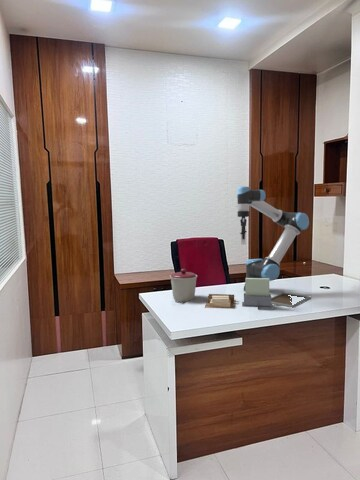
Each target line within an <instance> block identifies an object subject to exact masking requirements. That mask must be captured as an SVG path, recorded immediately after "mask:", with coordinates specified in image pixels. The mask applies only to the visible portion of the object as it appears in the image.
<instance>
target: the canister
mask: <svg viewBox="0 0 360 480" xmlns="http://www.w3.org/2000/svg"><path fill="white" fill-rule="evenodd" d="M169 278H170V283H171V290H172V296H173V299H174V301H175V302H176V303H177V302H178V303H187V302H188V301H193V300H194V299H195V297H196V295H195V294H196V287H197V286H196V285H197V278H198V275H197V274H196V273H194V272H192V271H187V269H186V268H182V269H180V271H178V272H174V273H172V274H170V275H169Z"/></svg>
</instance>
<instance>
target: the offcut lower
mask: <svg viewBox="0 0 360 480" xmlns="http://www.w3.org/2000/svg"><path fill="white" fill-rule="evenodd" d="M230 305H231V300H229V303H212V299H211V301H210V307H230Z"/></svg>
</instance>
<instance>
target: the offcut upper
mask: <svg viewBox="0 0 360 480" xmlns="http://www.w3.org/2000/svg"><path fill="white" fill-rule="evenodd" d="M212 303H229V296H212Z"/></svg>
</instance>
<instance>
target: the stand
mask: <svg viewBox="0 0 360 480" xmlns="http://www.w3.org/2000/svg"><path fill="white" fill-rule="evenodd" d="M271 298H272V293H269V296H246V295H245V292H244V293H243V301H242V302H241V304H242V305H241V307H244V308H257V310H260V311H261V310H262V311H267V310H268V311H273V310H274V304H272V303H271Z"/></svg>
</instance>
